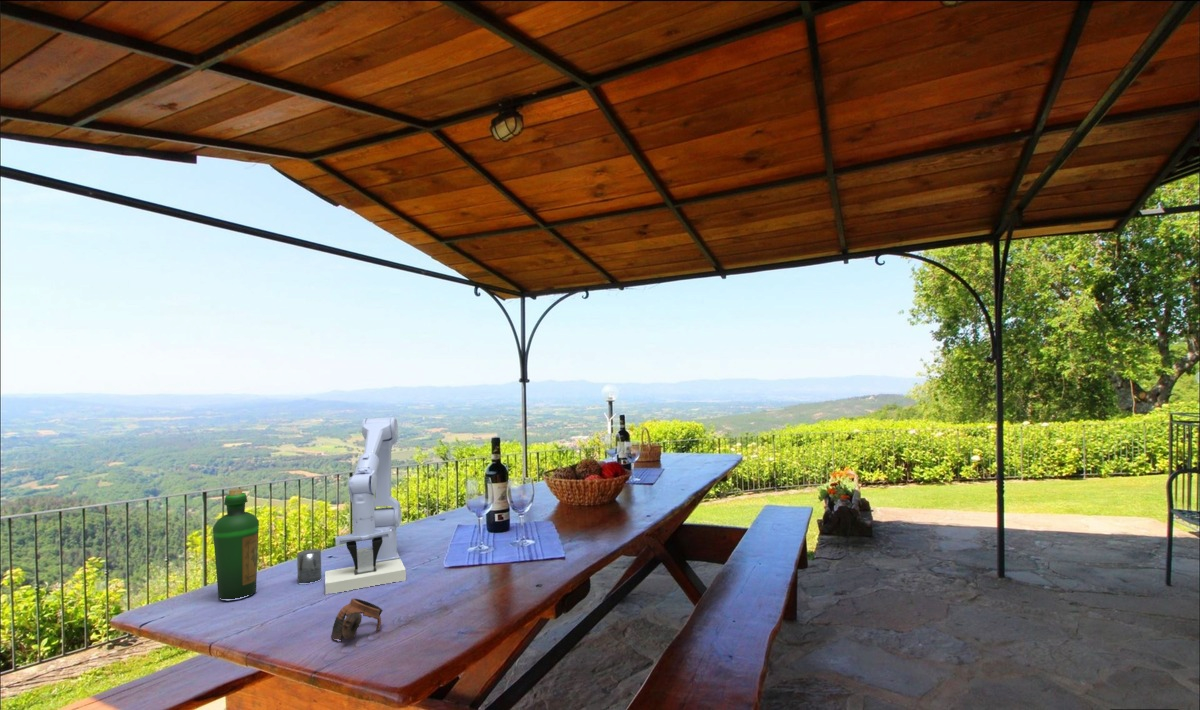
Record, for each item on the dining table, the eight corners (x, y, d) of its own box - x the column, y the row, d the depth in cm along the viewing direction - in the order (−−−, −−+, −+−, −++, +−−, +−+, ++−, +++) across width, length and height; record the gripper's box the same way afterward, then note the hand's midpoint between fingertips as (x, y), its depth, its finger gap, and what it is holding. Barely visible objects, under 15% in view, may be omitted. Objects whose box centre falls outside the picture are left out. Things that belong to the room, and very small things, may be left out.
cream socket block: (325, 582, 162) (325, 571, 162) (400, 569, 170) (400, 558, 170) (325, 595, 151) (325, 583, 151) (406, 580, 159) (405, 569, 160)
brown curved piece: (331, 632, 128) (350, 594, 132) (372, 647, 129) (390, 609, 132) (319, 639, 117) (340, 598, 120) (363, 656, 118) (383, 615, 121)
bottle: (266, 594, 154) (264, 488, 155) (219, 607, 146) (218, 494, 147) (253, 586, 161) (251, 484, 162) (208, 598, 153) (206, 491, 154)
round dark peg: (298, 579, 165) (297, 551, 165) (321, 575, 167) (320, 547, 168) (297, 586, 159) (296, 556, 160) (321, 581, 162) (320, 552, 162)
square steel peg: (357, 578, 162) (356, 549, 162) (372, 575, 163) (371, 546, 164) (358, 582, 158) (357, 552, 158) (373, 579, 160) (372, 550, 160)
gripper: (335, 524, 155) (336, 576, 154) (392, 516, 161) (394, 566, 160) (334, 519, 161) (336, 568, 160) (390, 511, 167) (391, 559, 167)
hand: (365, 567), depth 161 cm, fingers closed on square steel peg, 4 cm apart
